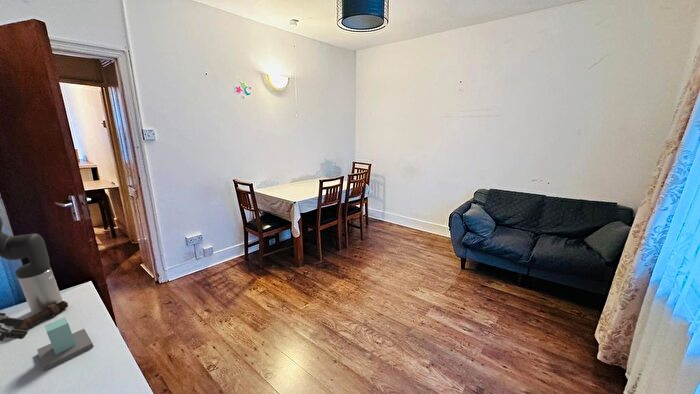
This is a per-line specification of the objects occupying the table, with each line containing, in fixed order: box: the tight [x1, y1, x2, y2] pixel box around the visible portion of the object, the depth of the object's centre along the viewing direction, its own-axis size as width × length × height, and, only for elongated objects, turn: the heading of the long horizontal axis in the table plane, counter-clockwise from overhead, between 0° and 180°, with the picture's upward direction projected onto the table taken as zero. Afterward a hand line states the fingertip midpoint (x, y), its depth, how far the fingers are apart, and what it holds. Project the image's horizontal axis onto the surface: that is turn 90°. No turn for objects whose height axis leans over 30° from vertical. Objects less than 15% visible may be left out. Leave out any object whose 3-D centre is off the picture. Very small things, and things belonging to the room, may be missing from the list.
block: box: [44, 316, 76, 354], centre depth 95 cm, size 5×5×9 cm
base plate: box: [36, 328, 94, 372], centre depth 96 cm, size 12×12×4 cm
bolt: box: [12, 300, 69, 332], centre depth 112 cm, size 6×5×15 cm
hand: (23, 329), depth 88 cm, fingers open, 8 cm apart
